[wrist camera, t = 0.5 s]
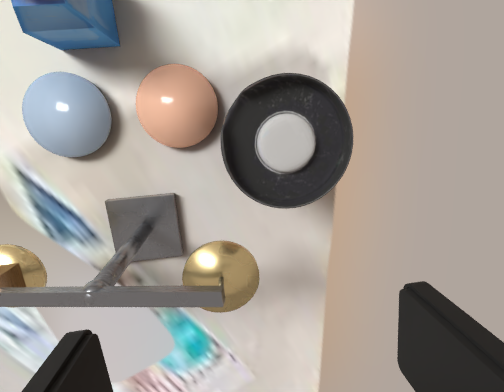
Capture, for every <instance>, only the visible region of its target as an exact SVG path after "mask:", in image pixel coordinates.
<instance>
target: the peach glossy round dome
mask: <svg viewBox="0 0 504 392" xmlns="http://www.w3.org/2000/svg"><path fill="white" fill-rule="evenodd" d="M136 110H137V115H138V118H139V120H140V123H141V124H142V126H143V128H144V129H145V131H146V132H147V133H148V134H149V135H150V136H151V137H152V138H153V139H155V140H156V141H158V142H160V143H162V144H164V145H166V146H170V147H176V148H183V147H189V146H192V145H195V144H197V143H199V142H200V141H202V140H203V139H204V138H206V137H207V136H208V134H209V133H210V132H211V130H212V129H213V127H214V125H215V122H216V119H217V114H218V103H217V98H216V95H215V92H214V90H213V88H212V86H211V84H210V83H209V82H208V80H207V79H206V78H205V77H204V76H203V75H202V74H201V73H199V72H198V71H197V70H195V69H193V68H191V67H189V66H185V65H181V64H167V65H163V66H160V67H158V68H156V69H154V70H153V71H151V72H150V73H149V74H148V75H147V76H146V77H145V78H144V79H143V81H142V82H141V84H140V86H139V88H138V92H137V96H136Z"/></svg>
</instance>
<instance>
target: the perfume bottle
mask: <svg viewBox="0 0 504 392" xmlns="http://www.w3.org/2000/svg"><path fill="white" fill-rule="evenodd" d="M11 1H12V5H13V8H14V11H15V13H16V16H17V18H18V21H19V23H20V26H21V28H22V31H23V33H25V34H28V35H30V36H32V37H34V38H36V39H39V40H41V41H43V42H45V43H47V44H49V45H52V46H54V47H56V48H58V49H60V50H68V49H84V48H99V47H115V46H120V43H119V37H118V31H117V26H116V20H115V14H114V8H113V3H112V0H11Z"/></svg>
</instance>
